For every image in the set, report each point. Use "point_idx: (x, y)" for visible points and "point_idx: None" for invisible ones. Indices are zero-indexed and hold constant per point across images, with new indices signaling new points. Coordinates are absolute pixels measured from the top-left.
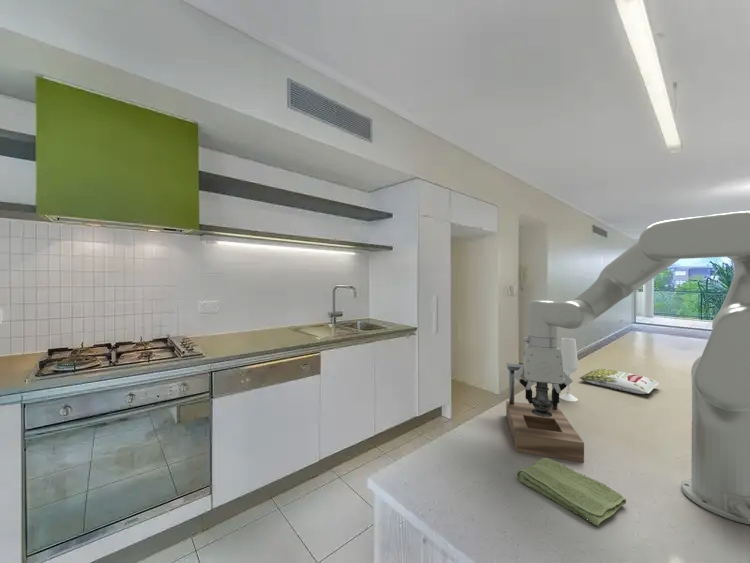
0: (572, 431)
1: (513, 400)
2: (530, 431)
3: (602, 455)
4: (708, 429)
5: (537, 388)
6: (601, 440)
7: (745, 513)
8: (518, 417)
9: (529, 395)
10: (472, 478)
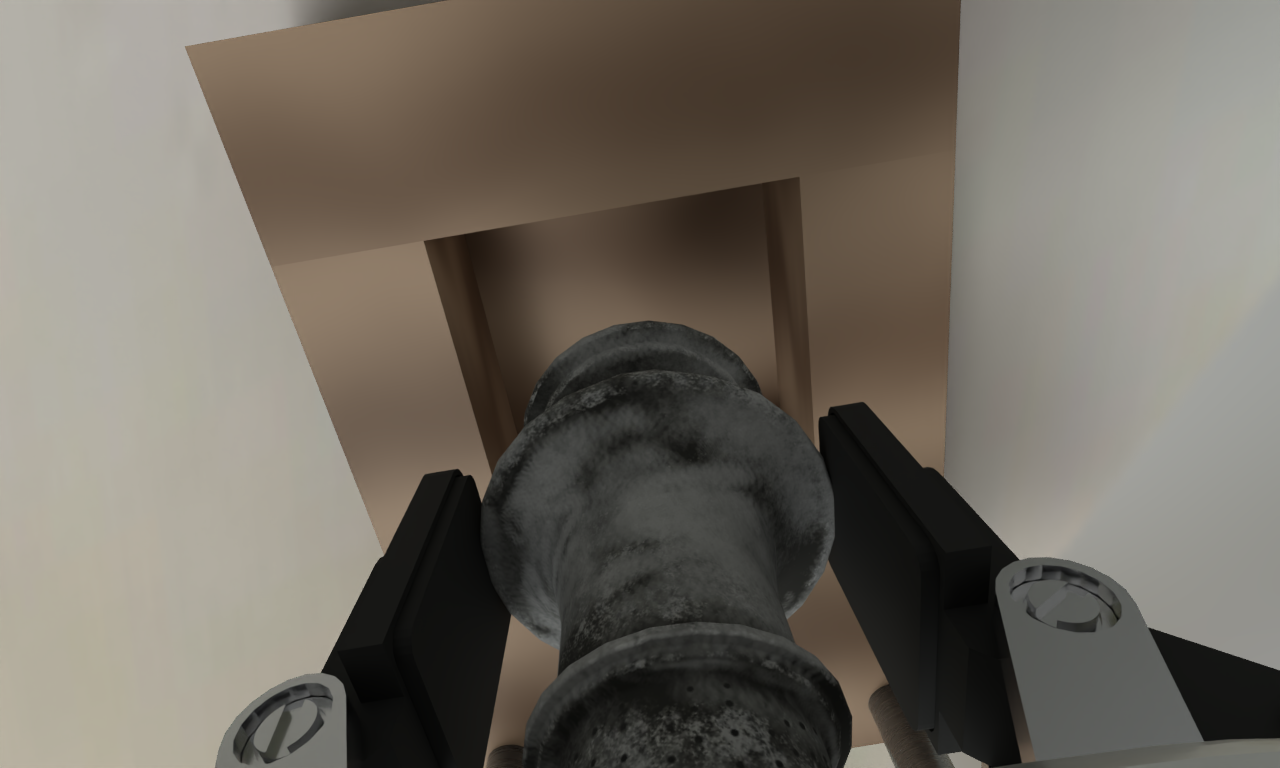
0: (331, 319)
1: (896, 727)
2: (780, 72)
3: (170, 286)
4: None
5: (810, 663)
6: (201, 543)
7: None
8: None
9: (925, 480)
10: None
